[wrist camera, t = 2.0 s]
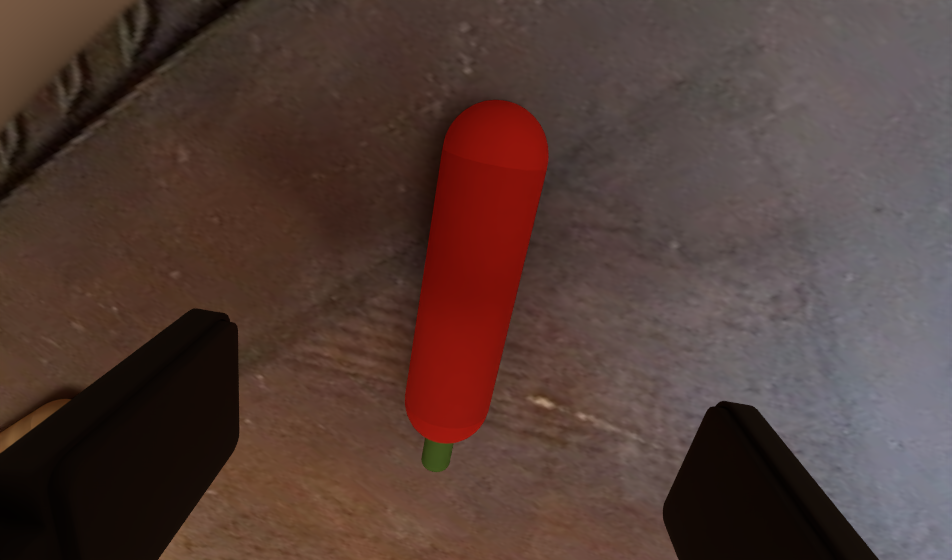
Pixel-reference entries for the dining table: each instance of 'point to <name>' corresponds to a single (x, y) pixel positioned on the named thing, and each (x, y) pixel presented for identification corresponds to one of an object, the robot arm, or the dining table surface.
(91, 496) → the robot arm
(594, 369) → the dining table surface
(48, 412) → the spatula
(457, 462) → the dining table surface
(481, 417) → the chili pepper
